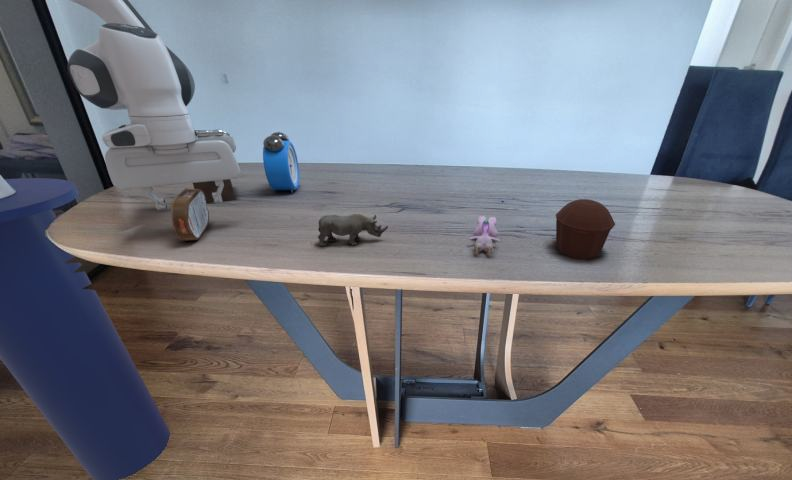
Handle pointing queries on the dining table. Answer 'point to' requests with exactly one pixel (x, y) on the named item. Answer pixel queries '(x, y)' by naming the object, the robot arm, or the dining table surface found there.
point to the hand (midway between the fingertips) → (191, 205)
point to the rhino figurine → (347, 227)
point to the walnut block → (211, 188)
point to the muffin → (582, 228)
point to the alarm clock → (280, 162)
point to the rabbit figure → (485, 234)
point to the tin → (190, 214)
